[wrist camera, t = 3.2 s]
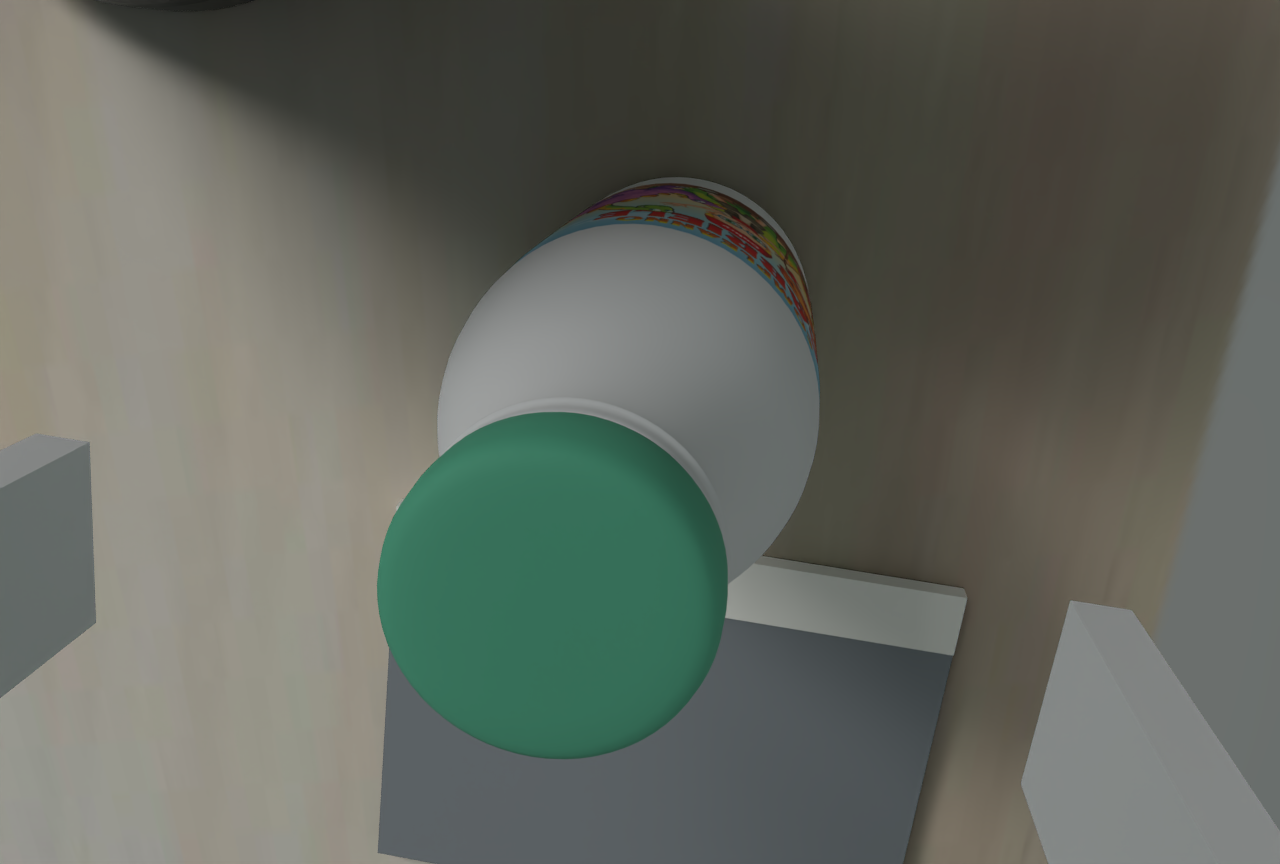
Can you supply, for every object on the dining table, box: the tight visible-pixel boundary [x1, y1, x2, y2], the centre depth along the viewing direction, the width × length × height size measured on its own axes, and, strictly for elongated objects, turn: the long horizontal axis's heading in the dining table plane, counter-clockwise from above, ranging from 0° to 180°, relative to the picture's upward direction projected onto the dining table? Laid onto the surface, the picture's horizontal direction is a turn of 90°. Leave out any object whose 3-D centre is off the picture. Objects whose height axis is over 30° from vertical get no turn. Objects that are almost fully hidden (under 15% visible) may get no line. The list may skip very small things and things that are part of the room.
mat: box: [378, 498, 967, 864], centre depth 37 cm, size 18×14×1 cm
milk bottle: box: [377, 177, 820, 759], centre depth 23 cm, size 8×8×20 cm
